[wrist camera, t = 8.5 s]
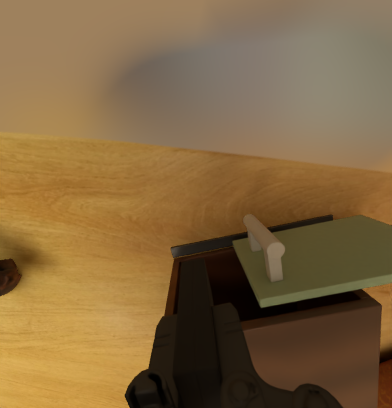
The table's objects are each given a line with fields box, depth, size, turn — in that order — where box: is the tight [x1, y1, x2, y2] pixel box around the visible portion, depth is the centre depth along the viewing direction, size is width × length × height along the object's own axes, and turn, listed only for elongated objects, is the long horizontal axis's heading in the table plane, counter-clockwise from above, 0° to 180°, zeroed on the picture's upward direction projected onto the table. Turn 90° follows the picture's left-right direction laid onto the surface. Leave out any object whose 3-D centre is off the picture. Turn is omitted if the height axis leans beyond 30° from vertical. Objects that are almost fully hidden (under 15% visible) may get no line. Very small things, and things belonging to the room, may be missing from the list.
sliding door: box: [232, 214, 392, 308], centre depth 18 cm, size 5×16×10 cm, turn 102°
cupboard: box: [164, 215, 382, 408], centre depth 20 cm, size 14×21×12 cm, turn 102°
